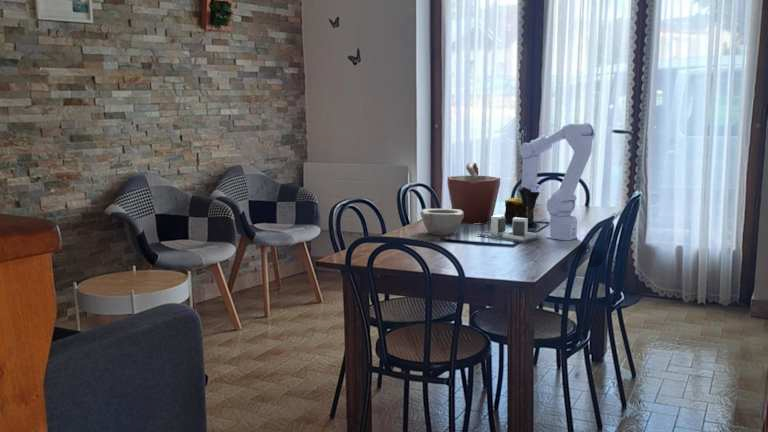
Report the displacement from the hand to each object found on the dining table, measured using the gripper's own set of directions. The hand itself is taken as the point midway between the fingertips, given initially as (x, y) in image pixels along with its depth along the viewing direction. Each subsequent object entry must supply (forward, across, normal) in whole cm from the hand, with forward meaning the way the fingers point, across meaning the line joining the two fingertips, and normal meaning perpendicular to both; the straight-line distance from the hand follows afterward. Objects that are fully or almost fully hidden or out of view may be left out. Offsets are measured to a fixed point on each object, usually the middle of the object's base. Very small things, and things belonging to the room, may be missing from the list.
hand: (528, 207), depth 282 cm
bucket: (+10, +26, +18) cm, 33 cm away
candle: (+10, +19, -1) cm, 22 cm away
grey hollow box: (+9, -12, +11) cm, 19 cm away
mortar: (+10, -2, +35) cm, 36 cm away
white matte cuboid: (+9, -15, +7) cm, 19 cm away
